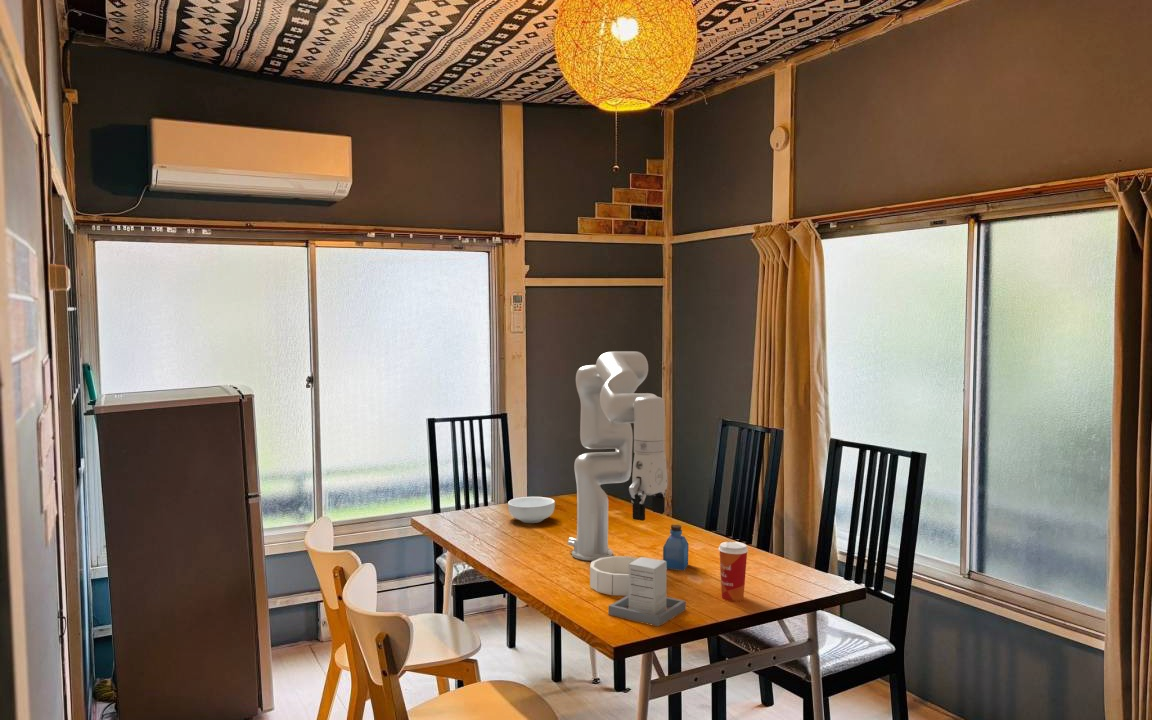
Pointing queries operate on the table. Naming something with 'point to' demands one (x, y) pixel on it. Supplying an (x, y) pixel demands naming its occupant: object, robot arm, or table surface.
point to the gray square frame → (621, 611)
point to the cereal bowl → (531, 508)
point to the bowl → (611, 575)
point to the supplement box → (648, 585)
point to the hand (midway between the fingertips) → (648, 516)
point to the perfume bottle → (676, 549)
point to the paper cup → (733, 570)
